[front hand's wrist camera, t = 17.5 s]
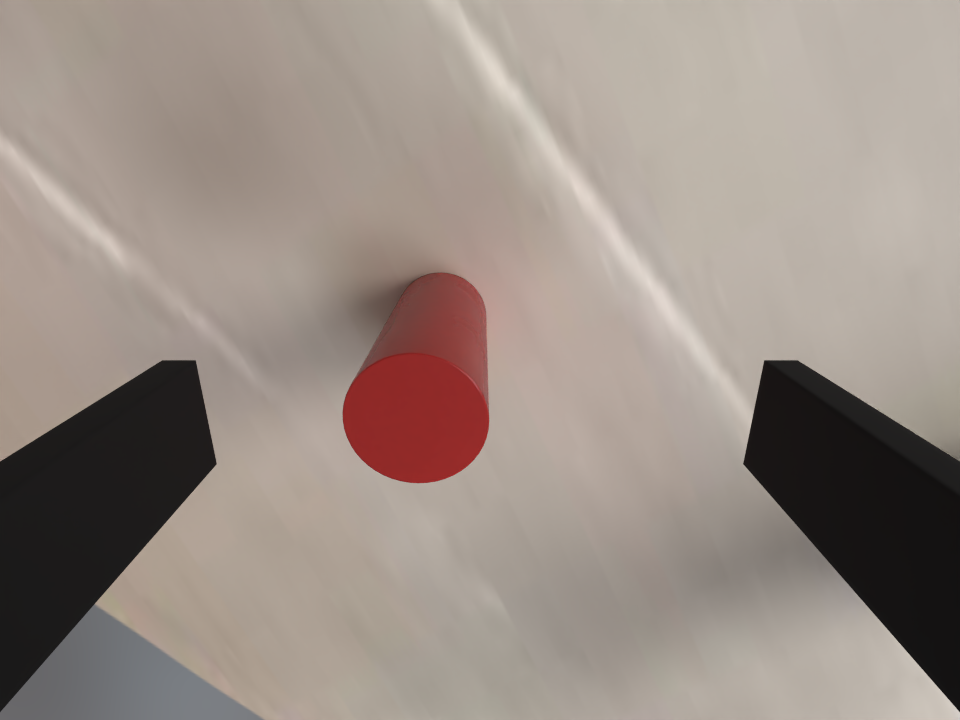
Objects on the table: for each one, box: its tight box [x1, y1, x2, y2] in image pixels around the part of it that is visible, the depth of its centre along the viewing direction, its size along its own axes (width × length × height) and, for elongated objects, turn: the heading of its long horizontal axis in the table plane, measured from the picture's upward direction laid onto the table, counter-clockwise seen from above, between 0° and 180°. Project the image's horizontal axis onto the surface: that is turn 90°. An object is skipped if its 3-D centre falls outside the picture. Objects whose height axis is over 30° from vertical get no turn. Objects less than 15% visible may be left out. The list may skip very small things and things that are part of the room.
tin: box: [343, 273, 489, 483], centre depth 24 cm, size 5×5×12 cm
